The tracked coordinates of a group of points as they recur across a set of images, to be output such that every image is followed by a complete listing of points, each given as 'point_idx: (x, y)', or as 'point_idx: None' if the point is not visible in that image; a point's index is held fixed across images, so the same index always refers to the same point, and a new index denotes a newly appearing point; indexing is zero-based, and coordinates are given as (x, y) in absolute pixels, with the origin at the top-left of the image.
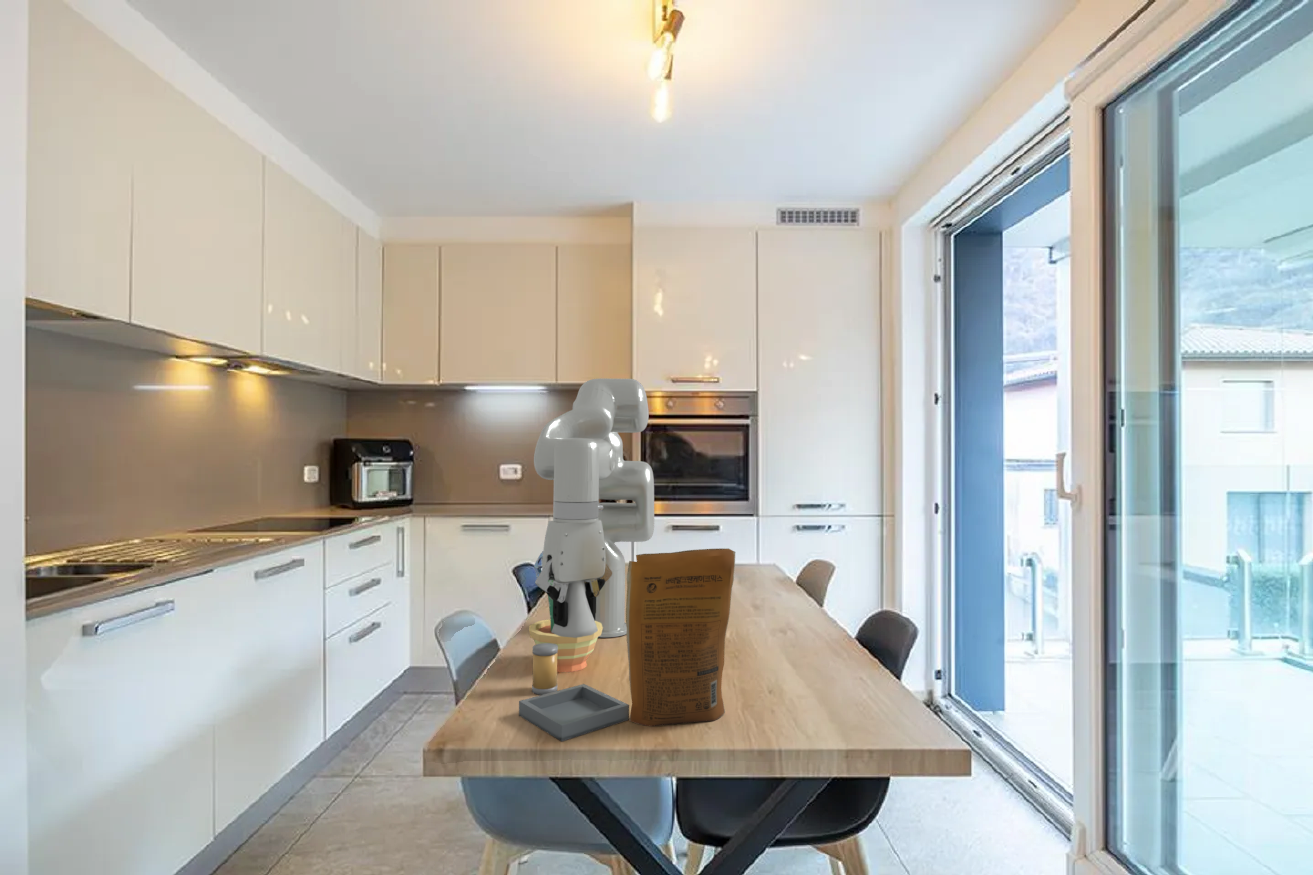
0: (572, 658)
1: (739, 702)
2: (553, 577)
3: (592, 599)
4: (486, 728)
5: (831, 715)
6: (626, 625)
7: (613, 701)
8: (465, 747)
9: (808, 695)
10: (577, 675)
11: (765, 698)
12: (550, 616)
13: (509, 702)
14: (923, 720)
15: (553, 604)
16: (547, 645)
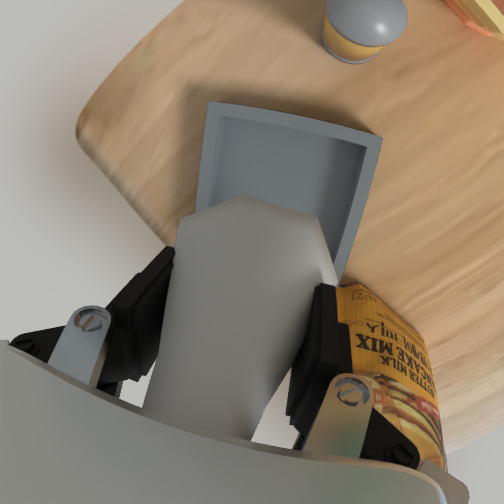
0: (474, 22)
1: (464, 351)
2: (38, 373)
3: (290, 414)
4: (147, 109)
5: (449, 417)
6: (298, 434)
7: (336, 255)
8: (98, 150)
9: (498, 385)
10: (459, 45)
11: (483, 364)
12: None
13: (250, 33)
14: (454, 448)
15: (107, 309)
16: (381, 5)
